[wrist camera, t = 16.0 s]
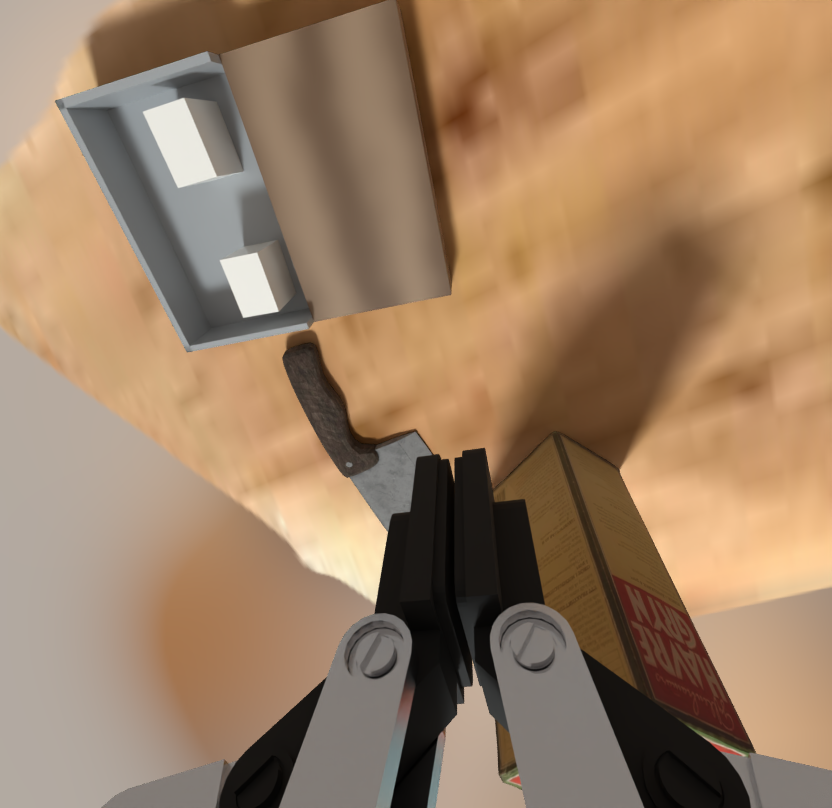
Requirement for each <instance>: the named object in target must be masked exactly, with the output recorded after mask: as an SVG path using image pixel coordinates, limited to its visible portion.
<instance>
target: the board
mask: <svg viewBox="0 0 832 808" xmlns="http://www.w3.org/2000/svg"><path fill="white" fill-rule="evenodd" d="M219 58H220V60H221V63H222V66H223V69H224V72H225V74H226V77H227V80H228V83H229V86H230V88H231V91H232V94H233V97H234V100H235V102H236V105H237V108H238V111H239V114H240V116H241V119H242V122H243V125H244V128H245V130H246V133H247V136H248V139H249V142H250V144H251V147H252V150H253V153H254V156H255V158H256V161H257V164H258V167H259V170H260V172H261V175H262V178H263V181H264V184H265V186H266V189H267V192H268V195H269V198H270V200H271V203H272V206H273V209H274V212H275V214H276V217H277V220H278V223H279V226H280V228H281V231H282V234H283V237H284V240H285V242H286V245H287V248H288V251H289V254H290V256H291V259H292V262H293V265H294V268H295V270H296V273H297V276H298V279H299V282H300V284H301V287H302V290H303V293H304V296H305V298H306V301H307V304H308V307H309V310H310V312H311V315H312V318H313V321H314V322H316V321H321V320H326V319H331V318H336V317H341V316H346V315H351V314H356V313H361V312H366V311H372V310H377V309H382V308H387V307H392V306H397V305H402V304H407V303H412V302H417V301H422V300H427V299H432V298H438V297H443V296H448V295H451V288H452V283H451V278H450V272H449V267H448V262H447V256H446V251H445V246H444V240H443V235H442V229H441V224H440V219H439V213H438V208H437V203H436V197H435V192H434V187H433V181H432V176H431V170H430V165H429V160H428V154H427V149H426V144H425V138H424V133H423V128H422V122H421V117H420V112H419V106H418V101H417V95H416V90H415V85H414V79H413V74H412V69H411V63H410V58H409V53H408V47H407V42H406V36H405V31H404V26H403V20H402V15H401V10H400V7H399V5H398V3H397V1H396V0H387V1H384V2H381V3H378V4H375V5H371V6H368V7H365V8H362V9H359V10H356V11H353V12H350V13H347V14H343V15H340V16H337V17H334V18H331V19H328V20H325V21H322V22H319V23H316V24H312V25H309V26H306V27H303V28H300V29H297V30H294V31H291V32H288V33H285V34H281V35H278V36H275V37H272V38H269V39H266V40H263V41H260V42H257V43H254V44H250V45H247V46H244V47H241V48H238V49H235V50H232V51H229V52H226V53H223V54H219Z"/></svg>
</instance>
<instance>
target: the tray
mask: <svg viewBox="0 0 832 808" xmlns="http://www.w3.org/2000/svg"><path fill="white" fill-rule="evenodd" d="M182 98H190V99H199V100H207V101H215V102H217V104H218V106H219V109H220V111H221V114H222V116H223V119H224V122H225V124H226V127H227V129H228V132H229V134H230V137H231V139H232V142H233V145H234V147H235V150H236V152H237V155H238V157H239V160H240V162H241V165H242V168H243V170H244V172H240V173H237V174H233V175H230V176H227V177H223V178H220V179H216V180H213V181H210V182H205V183H200V184H195V185H191V186H186V187H181V188H178V187H177V185H176V183H175V181H174V178H173V176H172V174H171V172H170V170H169V168H168V165H167V163H166V161H165V159H164V157H163V155H162V153H161V150H160V148H159V146H158V144H157V142H156V140H155V137H154V135H153V133H152V131H151V129H150V127H149V125H148V122H147V120H146V118H145V116H144V114H143V111H146V110H149V109H152V108H155V107H158V106H161V105H164V104H167V103H170V102H173V101H176V100H179V99H182ZM55 102H56V104H57V106H58V108H59V110H60V112H61V114H62V115H63V117H64V119H65V121H66V123H67V125H68V127H69V129H70V131H71V133H72V134H73V136H74V138H75V140H76V142H77V144H78V146H79V148H80V150H81V152H82V153H83V155H84V157H85V159H86V161H87V163H88V165H89V167H90V169H91V171H92V173H93V174H94V176H95V178H96V180H97V182H98V184H99V186H100V188H101V190H102V192H103V193H104V195H105V197H106V199H107V201H108V203H109V205H110V207H111V209H112V211H113V213H114V214H115V216H116V218H117V220H118V222H119V224H120V226H121V228H122V230H123V232H124V233H125V235H126V237H127V239H128V241H129V243H130V245H131V247H132V249H133V251H134V252H135V254H136V256H137V258H138V260H139V262H140V264H141V266H142V268H143V270H144V272H145V273H146V275H147V277H148V279H149V281H150V283H151V285H152V287H153V289H154V291H155V292H156V294H157V296H158V298H159V300H160V302H161V304H162V306H163V308H164V310H165V312H166V313H167V315H168V317H169V319H170V321H171V323H172V325H173V327H174V329H175V331H176V332H177V334H178V336H179V338H180V340H181V342H182V344H183V346H184V348H185V350H186V351H187V352H192V351H197V350H202V349H207V348H212V347H217V346H223V345H228V344H233V343H238V342H243V341H248V340H253V339H259V338H264V337H269V336H274V335H279V334H284V333H289V332H294V331H300V330H305V329H309V328H310V326H311V325H312V324H313V322H314V321H313V318H312V315H311V312H310V310H309V307H308V304H307V301H306V298H305V296H304V293H303V290H302V287H301V284H300V282H299V279H298V276H297V273H296V270H295V268H294V265H293V262H292V259H291V256H290V254H289V251H288V248H287V245H286V242H285V240H284V237H283V234H282V231H281V228H280V226H279V223H278V220H277V217H276V214H275V212H274V209H273V206H272V203H271V200H270V198H269V195H268V192H267V189H266V186H265V184H264V181H263V178H262V175H261V172H260V170H259V167H258V164H257V161H256V158H255V156H254V153H253V150H252V147H251V144H250V142H249V139H248V136H247V133H246V130H245V128H244V125H243V122H242V119H241V116H240V114H239V111H238V108H237V105H236V102H235V100H234V97H233V94H232V91H231V88H230V86H229V83H228V80H227V77H226V74H225V72H224V69H223V66H222V63H221V60H220V58H219V55H218V54H214V53H211V52H208V51H206V52H203V53H200V54H197V55H194V56H191V57H188V58H185V59H182V60H179V61H176V62H173V63H170V64H167V65H163V66H160V67H157V68H154V69H151V70H148V71H145V72H142V73H139V74H136V75H133V76H130V77H127V78H124V79H120V80H117V81H114V82H111V83H108V84H105V85H102V86H99V87H96V88H93V89H90V90H87V91H84V92H81V93H77V94H74V95H71V96H68V97H65V98H62V99H59V100H56V101H55ZM274 240H278V241H279V244H280V247H281V250H282V253H283V256H284V259H285V262H286V265H287V267H288V270H289V273H290V276H291V279H292V282H293V285H294V288H295V291H296V294H295V295H294V296H293V297H292V299H291V300H290V301H289V302H288V303H287V304H286V305H285V306H284V307H283V308H282V309H281V310H280V311H279V312H273V313H268V314H262V315H256V316H251V317H245V318H243V316H242V313H241V311H240V309H239V306H238V304H237V301H236V299H235V296H234V294H233V292H232V289H231V287H230V284H229V282H228V279H227V277H226V275H225V272H224V270H223V267H222V265H221V262H220V260H221V259H223V258H224V257H226V256H228V255H230V254H232V253H233V252H235V251H237V250H239V249H241V248H242V247H245V246H249V245H254V244H259V243H264V242H269V241H274Z"/></svg>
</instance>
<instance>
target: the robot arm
mask: <svg viewBox="0 0 832 808" xmlns="http://www.w3.org/2000/svg"><path fill="white" fill-rule="evenodd" d="M472 660H473V663H474V667H475V670H476V674H477V678H478V681H479V685H480V686H482V688H483V692H484V695H485V698H486V702H487V706H488V709H489V713H490V714H491V715H492V716H493V717H494V718H495V719H496V720H497V721H498V722H499V723H500V724H501V725H502V726H503V727H504V728H505V729H506V730H507V731H508V732H509V733H510V737H511V742H512V746H513V750H514V755H515V759H516V764H517V768H518V773H519V777H520V782H521V786H522V791H523V795H524V799H525V804H526V808H832V771H831V770H827V769H822V768H818V767H813V766H809V765H804V764H800V763H795V762H791V761H786V760H782V759H777V758H772V757H768V756H764V755H759V754H755V753H750V752H749V755H748V757H743V756H739V755H735V754H730V753H726V752H721V751H719V750H718V749H717V748H716V747H714V746H713V745H712V744H711V743H710V742H709V741H707V740H706V739H704V738H703V737H702V736H700V735H699V734H698V733H696V732H695V731H693V730H692V729H691V728H689V727H688V726H687V725H685V724H684V723H682V722H681V721H680V720H678V719H677V718H676V717H674V716H673V715H671V714H670V713H669V712H667V711H666V710H665V709H663V708H662V707H660V706H659V705H658V704H656V703H655V702H654V701H652V700H651V699H649V698H648V697H647V696H645V695H644V694H643V693H641V692H640V691H638V690H637V689H636V688H634V687H633V686H631V685H630V684H629V683H627V682H626V681H625V680H623V679H622V678H620V677H619V676H618V675H616V674H615V673H614V672H612V671H611V670H609V669H608V668H607V667H605V666H604V665H603V664H601V663H600V662H598V661H597V660H596V659H594V658H593V657H592V656H590V655H589V654H587V653H586V652H585V651H583V650H582V649H581V648H580V647H579V645H578V642H577V640H576V637H575V635H574V632H573V630H572V629H571V627H570V625H569V624H568V622H567V620H566V619H565V618H564V617H562V616H561V615H560V614H559V613H558V612H557V611H555V610H553V609H552V608H550V607H548V606H546V605H545V601H544V596H543V591H542V585H541V580H540V575H539V570H538V564H537V559H536V554H535V549H534V543H533V538H532V533H531V528H530V522H529V517H528V512H527V507H526V502H525V499H518V500H509V501H501V502H495V500H494V494H493V489H492V483H491V478H490V473H489V467H488V462H487V456H486V451H485V448H480V449H473V450H465V451H463V452H462V457H458V458H455V483H454V479H453V475H452V470H451V466H450V462H449V459H443V460H441V457H440V455H439V454H436V455H428V456H421V457H417V459H416V466H415V474H414V483H413V491H412V500H411V508H410V512H403V513H394V514H392V516H391V519H390V524H389V530H388V536H387V542H386V548H385V554H384V560H383V566H382V572H381V578H380V584H379V590H378V596H377V602H376V608H375V614H373V615H370V616H367V617H364V618H362V619H361V620H359V621H358V622H357V623H355V624H354V625H352V626H351V628H350V629H349V630H348V631H347V632H346V633H345V635H344V636H343V638H342V640H341V642H340V644H339V646H338V649H337V651H336V654H335V657H334V660H333V662H332V665H331V668H330V670H329V673H328V676H327V677H326V678H325V679H324V680H323V681H322V682H321V683H320V684H319V685H318V686H317V687H315V688H314V689H313V690H312V691H311V692H310V693H309V694H308V695H307V696H306V697H304V698H303V700H301V701H300V702H299V703H298V704H297V705H296V706H295V707H294V708H292V709H291V710H290V711H289V712H288V713H287V714H286V715H285V716H284V717H283V718H282V719H280V720H279V721H278V722H277V723H276V724H275V725H274V726H273V727H272V728H271V729H270V730H269V731H267V732H266V733H265V734H264V735H263V736H262V737H261V738H260V739H259V740H257V742H255V743H254V744H253V745H252V746H251V747H250V748H249V749H248V750H247V751H246V752H245V753H244V754H243V755H242V756H241V757H240V758H239V760H238V761H235V762H232V763H229V764H228V763H227V762H226V761H225V760H221V761H217V762H214V763H211V764H208V765H205V766H201V767H198V768H195V769H191V770H188V771H185V772H181V773H178V774H175V775H172V776H169V777H165V778H162V779H159V780H155V781H152V782H149V783H146V784H142V785H140V786H136V787H132V788H129V789H127V790H125V791H123V792H121V793H119V794H117V795H115V796H114V797H113V798H112V799H111V800H110V801H108V802H107V803H106V804H105V805H104V806H103V807H102V808H435V807H436V801H437V794H438V787H439V780H440V773H441V766H442V759H443V752H444V745H445V729H446V726H447V725H448V724H449V723H450V722H451V720H452V719H453V718H454V717H455V716H456V715H457V704H463V703H464V687H467V686H472V685H473V670H472Z"/></svg>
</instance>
